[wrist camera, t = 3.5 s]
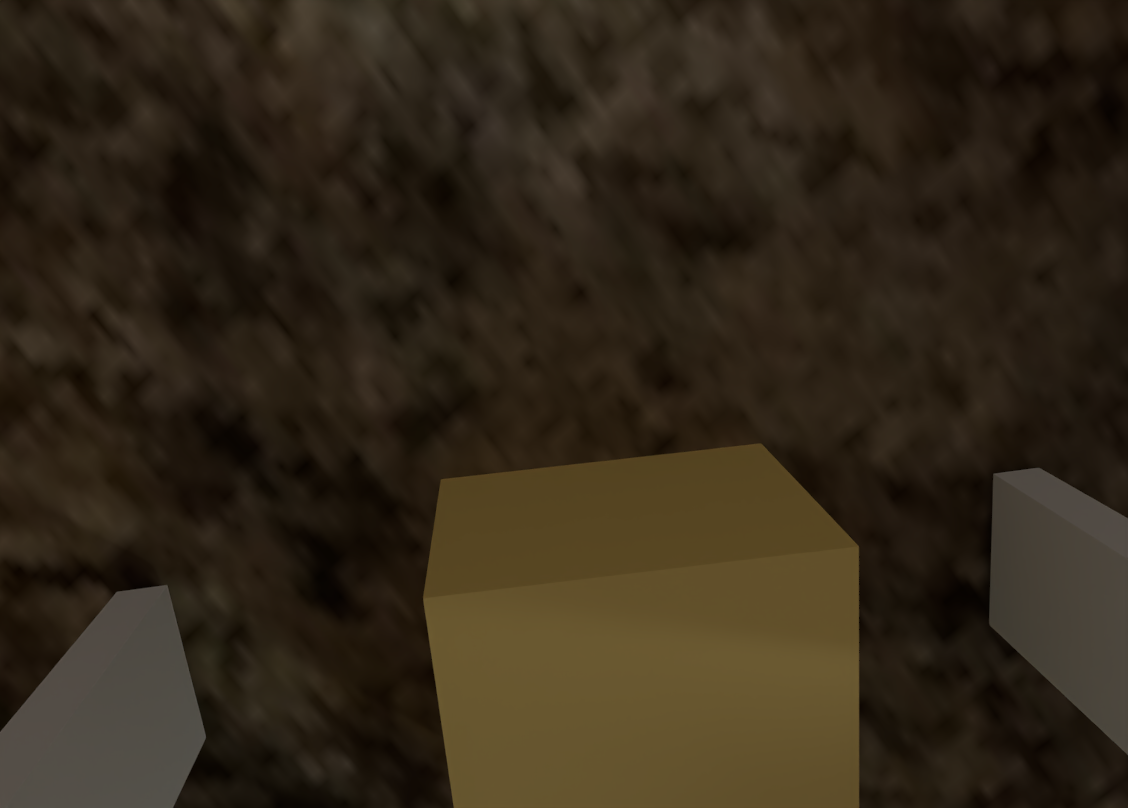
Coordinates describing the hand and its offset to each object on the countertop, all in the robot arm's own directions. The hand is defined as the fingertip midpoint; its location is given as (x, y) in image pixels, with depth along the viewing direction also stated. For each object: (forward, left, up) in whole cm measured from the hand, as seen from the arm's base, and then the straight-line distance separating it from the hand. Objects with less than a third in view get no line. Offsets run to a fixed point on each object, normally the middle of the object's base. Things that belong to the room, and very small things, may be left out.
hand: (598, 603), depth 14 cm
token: (0, 0, 0) cm, 0 cm away
